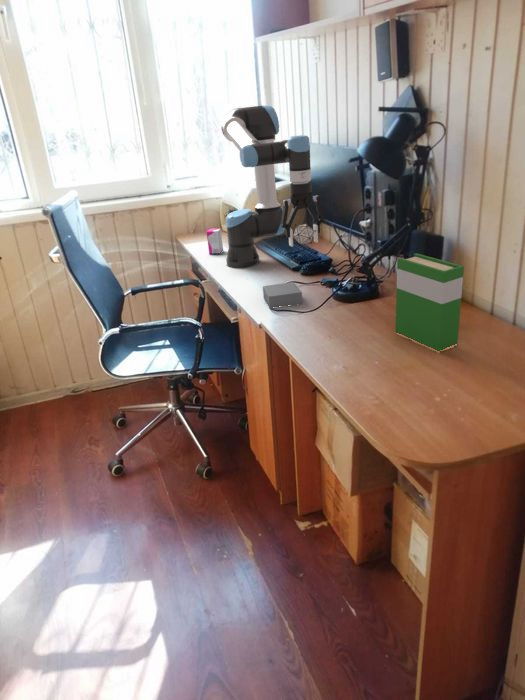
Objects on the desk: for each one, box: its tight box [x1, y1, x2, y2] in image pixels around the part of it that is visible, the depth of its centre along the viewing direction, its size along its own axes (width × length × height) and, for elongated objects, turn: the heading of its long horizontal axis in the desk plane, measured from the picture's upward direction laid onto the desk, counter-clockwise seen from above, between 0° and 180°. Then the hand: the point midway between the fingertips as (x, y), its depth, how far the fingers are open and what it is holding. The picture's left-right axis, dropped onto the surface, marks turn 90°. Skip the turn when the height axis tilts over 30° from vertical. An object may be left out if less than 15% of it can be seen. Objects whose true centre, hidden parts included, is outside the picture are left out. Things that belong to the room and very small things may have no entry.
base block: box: [262, 281, 303, 309], centre depth 200 cm, size 12×12×5 cm
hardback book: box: [394, 253, 465, 351], centre depth 157 cm, size 18×7×24 cm, turn 30°
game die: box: [293, 221, 316, 247], centre depth 203 cm, size 9×8×10 cm
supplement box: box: [206, 228, 224, 255], centre depth 266 cm, size 6×6×12 cm
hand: (303, 243), depth 204 cm, fingers closed on game die, 9 cm apart
